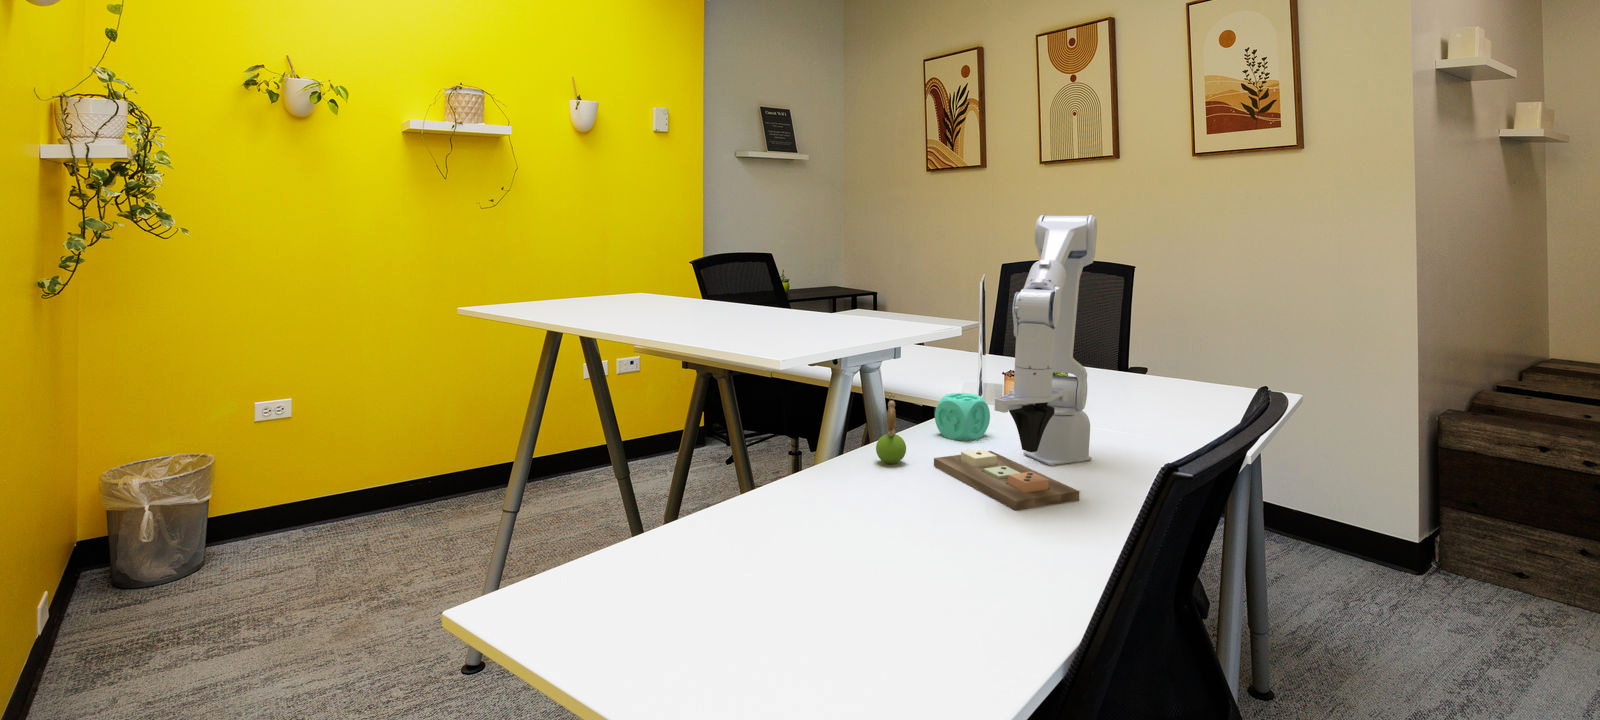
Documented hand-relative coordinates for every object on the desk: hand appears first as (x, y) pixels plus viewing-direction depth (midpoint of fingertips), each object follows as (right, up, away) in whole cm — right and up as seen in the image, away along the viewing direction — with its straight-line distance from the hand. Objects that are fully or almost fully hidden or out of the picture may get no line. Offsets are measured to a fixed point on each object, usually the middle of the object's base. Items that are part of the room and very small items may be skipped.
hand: (1029, 450), depth 131 cm
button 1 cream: (-5, -4, +14) cm, 15 cm away
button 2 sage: (-3, -6, +8) cm, 10 cm away
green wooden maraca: (-20, -4, +19) cm, 28 cm away
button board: (-3, -6, +8) cm, 10 cm away
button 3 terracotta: (0, -7, +1) cm, 7 cm away
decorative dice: (-4, -1, +37) cm, 37 cm away
